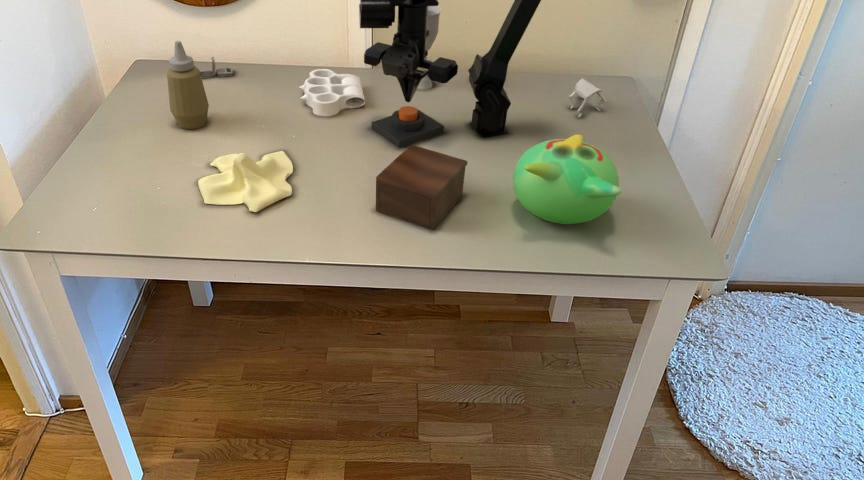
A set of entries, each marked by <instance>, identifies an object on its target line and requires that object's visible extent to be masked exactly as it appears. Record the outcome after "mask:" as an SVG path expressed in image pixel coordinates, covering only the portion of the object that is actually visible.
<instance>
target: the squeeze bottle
mask: <svg viewBox="0 0 864 480" xmlns="http://www.w3.org/2000/svg"><path fill="white" fill-rule="evenodd" d="M173 54H174V55H173V56H172V57H171V58H170V59H169V60H168V61H169V67H170V68H169V69H168V70H167V72H166V77H167V89H168V102H169V111H170V112H171V115H172V116H173V118H174V120H175V121H176V123H177V124H178V126H179V127H180V128H182V129H187V130H193V129H198V128H201V127H203V126H204V125H205V124H206V123H207V118H208V112H209V107H210V105H209V104H210V103H209V101H208V97H207V93H206V88H205V86H204V82H203V78H201V76H202V74H200V72H201V71H200V69H199V68H198V67H197V66H195V63H194V58H193V57H192V56H190V55H188V54H187V53H186V50H185V48H184V45H183V42H182V41H181V40H175V41H174V53H173Z"/></svg>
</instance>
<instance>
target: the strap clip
mask: <svg viewBox="0 0 864 480" xmlns="http://www.w3.org/2000/svg"><path fill="white" fill-rule="evenodd" d="M210 59H211V61H212V62H211V63H212V68H211V69H212V70H206V71H200V75H201V78H202V79H211V78H213V77H215V76H217V77H218V78H224V77H231V76H233V75H234V71H233V68H232V67H221V68H217V69H216V62H215V57H214V56H212V57H211V58H210Z"/></svg>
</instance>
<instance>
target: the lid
mask: <svg viewBox="0 0 864 480" xmlns="http://www.w3.org/2000/svg"><path fill="white" fill-rule="evenodd" d="M467 166H468V160H465V159H462V158H458V157H456V156H451V155H448V154H446V153H441V152H439V151H435V150H433V149H428V148H425V147H422V146H419V145H418V146H417V145H415V144H410V145H408V146H407V148H406V149H404V151H403V152H402V153H400V154H399V155H398V156H397V157H396V158H395V159H394V160H393V161H391V162H390V163H389V164H388V165H387V166H386V167H385V168H384V169H383V170H382V171H381V172H380V173H379V174H377V176H376V177H375V182H376V181H379V182H382V183H385V184H388V185H391V186H394V187H397V188H401V189H404V190H407V191H410V192H413V193H416V194H419V195H422V196H425V197H428V198H431V199H436V198H437V197H438V196H439V195H440V194H441V193H442V192H443V191H444V190H445V188H446V187H447V186H448V185H449V184H450V183H451V182H452V181H453V180H454V179H455V177H456V176H457V175H458V174H459V173H460V172H461V171H462V170H463V169H464V168H465V169H466V167H467Z"/></svg>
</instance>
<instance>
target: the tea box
mask: <svg viewBox="0 0 864 480" xmlns="http://www.w3.org/2000/svg"><path fill="white" fill-rule="evenodd" d="M465 174H466V167H465V168H464V169H463V170H462V171H461V172H460V173H459V174H458V175H457V176H456V177H455V179H454V180H453V181H452V182H451V183H450V184H449V185H448V186H447V187H446V188H445V190H444V191H443V192H442V193H441V194H440V195H439V196H438V197H437V198H436V199H431V198H428V197H425V196H422V195H419V194H416V193H413V192H410V191H407V190H404V189H401V188H397V187H394V186H391V185H388V184H385V183H382V182H379V181H376V180H375V212H378V213H381V214H384V215H386V216H390V217H393V218H395V219H398V220H401V221H405V222H408V223H410V224H413V225H416V226H419V227H422V228H424V229H428V230H431V231H434V229H435V228H437V226H438V225H439V224H440V223H441V221H443V219H444V218H445V217H446V215H447V214H448V213H449V212H450V211H451V209H453V208H454V206H455V205H456V204H457V203H458V202H459V200H460V199H461V198H462V197H463V192H464V183H465Z"/></svg>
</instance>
